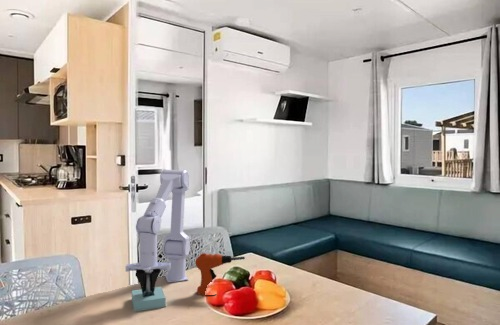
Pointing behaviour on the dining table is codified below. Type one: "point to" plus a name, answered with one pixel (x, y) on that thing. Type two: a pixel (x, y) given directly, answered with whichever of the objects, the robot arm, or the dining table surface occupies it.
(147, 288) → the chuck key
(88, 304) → the dining table surface
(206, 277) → the toy drill
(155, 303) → the block
